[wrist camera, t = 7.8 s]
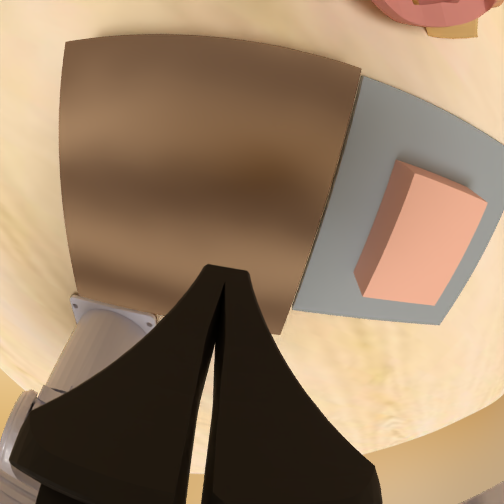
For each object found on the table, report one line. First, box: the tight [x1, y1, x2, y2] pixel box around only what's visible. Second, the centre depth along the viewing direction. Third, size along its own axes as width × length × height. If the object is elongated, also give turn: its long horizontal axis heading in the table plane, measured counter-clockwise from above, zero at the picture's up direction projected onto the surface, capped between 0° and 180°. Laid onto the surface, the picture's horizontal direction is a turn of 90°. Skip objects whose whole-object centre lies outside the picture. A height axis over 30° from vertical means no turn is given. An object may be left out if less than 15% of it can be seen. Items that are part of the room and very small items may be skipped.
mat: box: [292, 76, 504, 325], centre depth 18 cm, size 16×14×1 cm
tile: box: [353, 160, 488, 306], centre depth 16 cm, size 8×6×2 cm
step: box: [59, 34, 361, 335], centre depth 15 cm, size 16×14×3 cm
